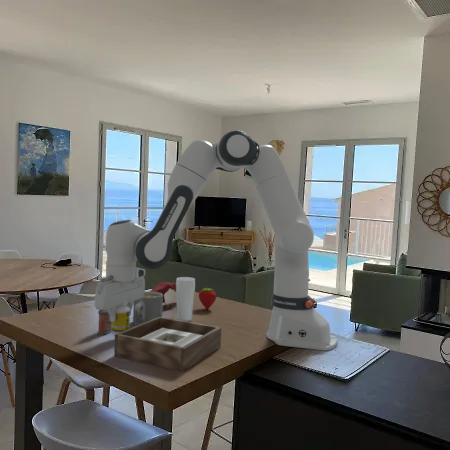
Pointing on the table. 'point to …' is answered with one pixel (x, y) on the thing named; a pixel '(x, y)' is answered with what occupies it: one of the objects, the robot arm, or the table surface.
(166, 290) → the decorative bird sculpture
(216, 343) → the crate
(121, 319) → the supplement bottle
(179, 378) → the table surface
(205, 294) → the strawberry
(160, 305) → the coffee mug
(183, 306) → the drinking glass
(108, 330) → the lighter
